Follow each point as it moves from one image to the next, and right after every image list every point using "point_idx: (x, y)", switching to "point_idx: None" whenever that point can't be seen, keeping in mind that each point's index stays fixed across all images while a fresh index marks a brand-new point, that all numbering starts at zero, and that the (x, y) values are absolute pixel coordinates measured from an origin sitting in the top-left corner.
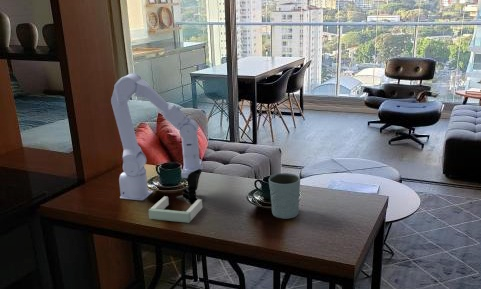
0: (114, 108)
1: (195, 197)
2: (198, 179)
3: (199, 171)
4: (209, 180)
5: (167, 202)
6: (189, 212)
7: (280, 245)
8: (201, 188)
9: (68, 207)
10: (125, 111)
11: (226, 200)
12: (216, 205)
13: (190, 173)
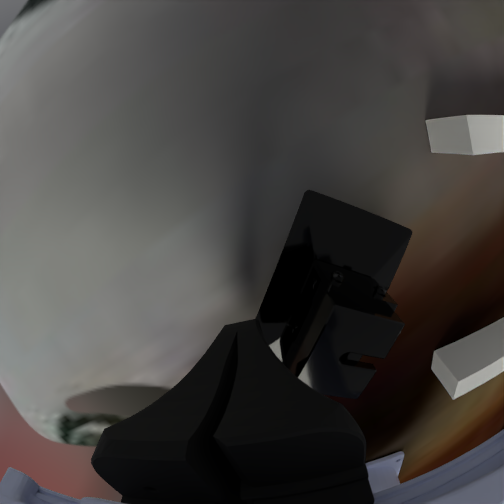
0: None
1: (322, 263)
2: (193, 378)
3: (182, 465)
4: (25, 344)
5: (453, 357)
6: None
7: None
8: (122, 333)
9: None
10: None
11: (223, 14)
12: (345, 37)
13: (370, 493)
